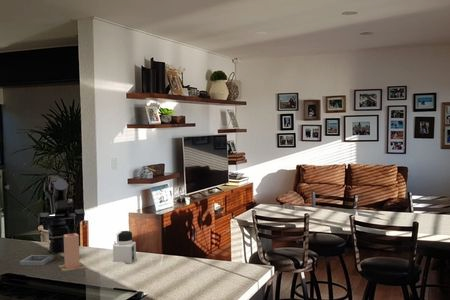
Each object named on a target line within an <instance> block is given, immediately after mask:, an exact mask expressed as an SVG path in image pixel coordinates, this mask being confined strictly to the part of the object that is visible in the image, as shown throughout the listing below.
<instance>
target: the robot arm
mask: <svg viewBox="0 0 450 300" xmlns="http://www.w3.org/2000/svg"><path fill="white" fill-rule="evenodd" d="M68 189H70V184H69V183H68V182H67V181H66V179H63V177H60V175H59V174H50V175H48V176H47V179H46V180H44V182H43V193H45V195H46V196H45V197H46V198H47V199H48V200H49V203H50V211H51V212H50V213H51V214H50V213H49V211H48V212H47V211H46V212H40V213H39V214H38V225H39V226H42V227H45V228H46V229H47V232H48V233H47V238H48V241H50V242H49V250H48V252H49V253H51V254H52V253H53V254H59V253H64V235H66V234H70V228H69V227H68V225H67V222H66V219H67V220H68V219H74V220H73V231H74V232H73V233H74V234H75V233H76V234H77V228H78V226H79V223H82V222H83V221H84V220H85V215H86V213H85V210H84V209H74V213H69V212H70V207H71V208H72V207H74V201H73V198H68V199H67V194H68Z"/></svg>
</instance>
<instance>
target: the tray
mask: <svg viewBox="0 0 450 300" xmlns="http://www.w3.org/2000/svg"><path fill="white" fill-rule="evenodd" d="M54 257H55V256H54V254H50V255H49V254H36V255H35V254H31V255H29V256H27V257H25V258H24V259H21V260H20V261H19V266H44V265H45V264H48V263H49V262H51V261H52V260H54V259H55V258H54Z"/></svg>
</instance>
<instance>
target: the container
mask: <svg viewBox="0 0 450 300" xmlns="http://www.w3.org/2000/svg"><path fill="white" fill-rule="evenodd" d="M112 251H113V253H112V254H113V262H114V263H115V262H116V263H117V262H118V263H119V262H120V263H121V262H122V263H124V264H125V265H129V264H130V265H131V264H132V263H133V262H134V261H135V260H137V242H136V241H133V232H132V231H130V230H121V231H118V232H117V233H116V244H114V245H113V248H112Z"/></svg>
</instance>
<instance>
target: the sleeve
mask: <svg viewBox="0 0 450 300" xmlns="http://www.w3.org/2000/svg"><path fill="white" fill-rule="evenodd" d="M63 253H64V254H63V256H64V258H63V259H64V260H63V261H64V265H65V267H66V268H67V269H70V268H76V267H80V262H81V261H80V235H79V234H78V233H77V232H76V233H75V232H74V233H69V234H66V235H64V252H63Z"/></svg>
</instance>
